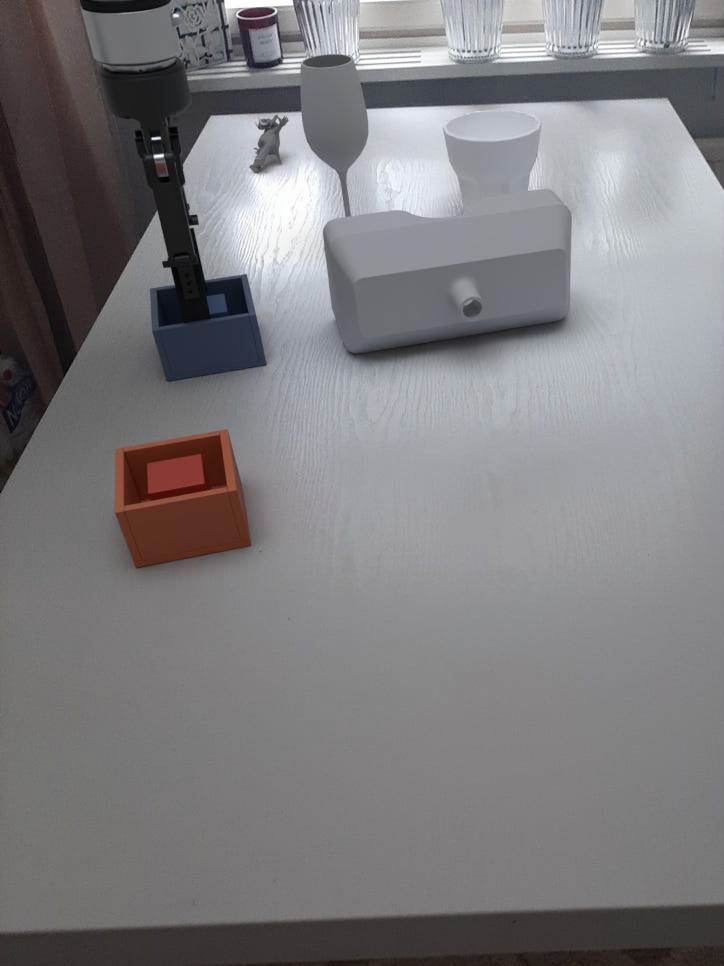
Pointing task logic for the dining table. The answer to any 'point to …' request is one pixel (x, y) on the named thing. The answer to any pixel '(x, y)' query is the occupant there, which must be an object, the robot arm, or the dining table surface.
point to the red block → (177, 477)
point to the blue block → (217, 306)
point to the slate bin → (207, 332)
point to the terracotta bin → (180, 502)
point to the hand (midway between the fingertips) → (196, 307)
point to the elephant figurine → (268, 141)
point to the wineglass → (334, 113)
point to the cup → (492, 152)
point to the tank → (449, 271)
